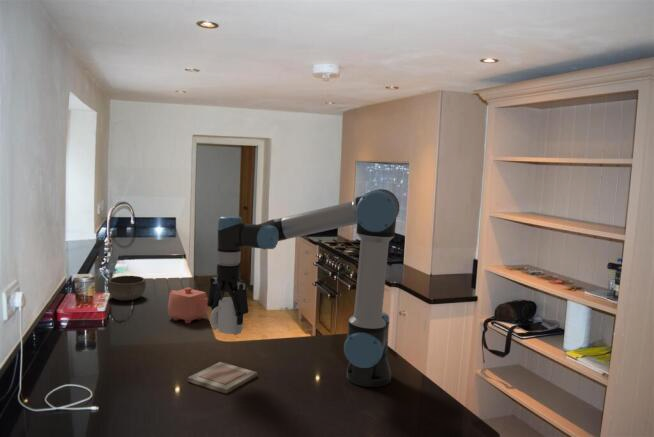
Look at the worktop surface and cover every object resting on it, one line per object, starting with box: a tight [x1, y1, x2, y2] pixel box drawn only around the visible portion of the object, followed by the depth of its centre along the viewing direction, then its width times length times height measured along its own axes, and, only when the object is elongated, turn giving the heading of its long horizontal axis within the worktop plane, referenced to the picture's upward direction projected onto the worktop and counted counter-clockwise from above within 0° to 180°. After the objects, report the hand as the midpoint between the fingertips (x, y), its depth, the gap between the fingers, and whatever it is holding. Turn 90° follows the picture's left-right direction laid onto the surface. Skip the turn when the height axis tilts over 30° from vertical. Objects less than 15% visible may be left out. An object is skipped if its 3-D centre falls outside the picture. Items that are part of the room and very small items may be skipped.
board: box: [187, 361, 258, 394], centre depth 174 cm, size 16×16×2 cm
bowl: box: [107, 275, 147, 302], centre depth 264 cm, size 17×18×10 cm
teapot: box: [167, 287, 209, 324], centre depth 235 cm, size 22×13×14 cm, turn 61°
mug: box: [209, 296, 245, 335], centre depth 174 cm, size 12×8×10 cm
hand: (226, 330), depth 175 cm, fingers closed on mug, 8 cm apart
